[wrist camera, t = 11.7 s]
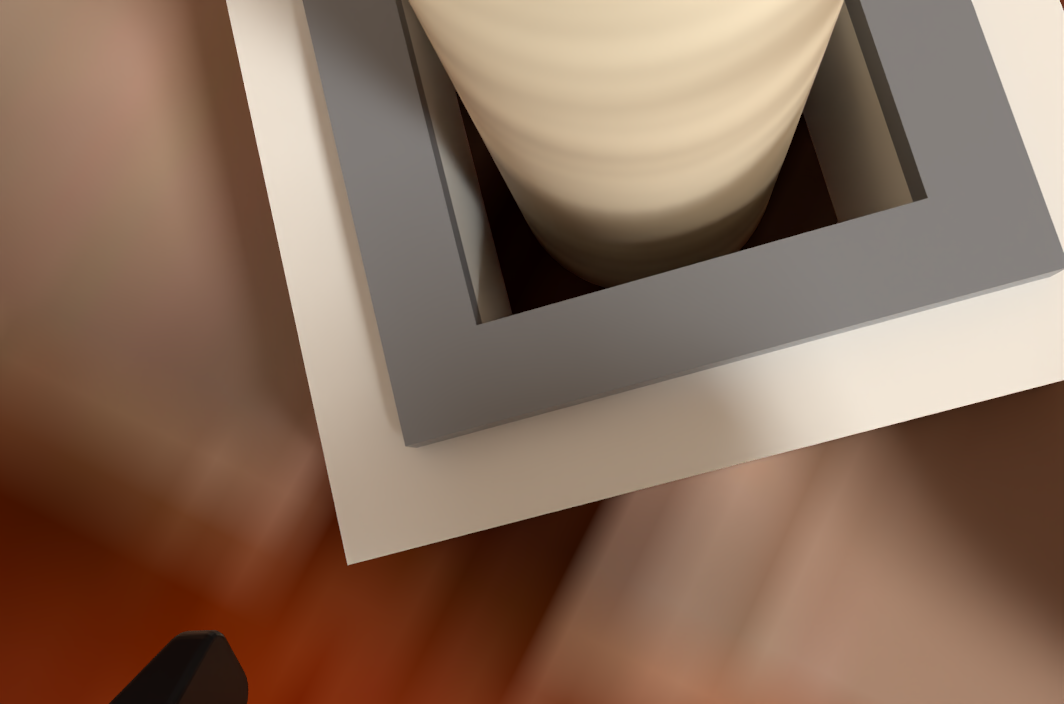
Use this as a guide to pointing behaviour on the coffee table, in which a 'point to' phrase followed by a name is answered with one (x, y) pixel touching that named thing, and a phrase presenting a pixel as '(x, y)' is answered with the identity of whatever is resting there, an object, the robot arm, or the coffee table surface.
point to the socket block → (660, 300)
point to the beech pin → (634, 117)
